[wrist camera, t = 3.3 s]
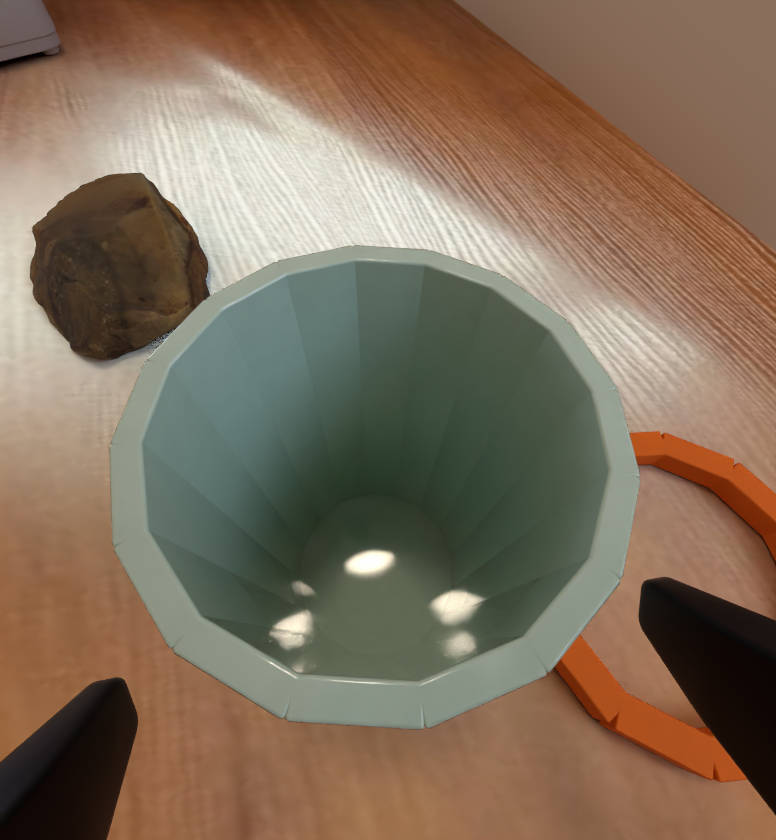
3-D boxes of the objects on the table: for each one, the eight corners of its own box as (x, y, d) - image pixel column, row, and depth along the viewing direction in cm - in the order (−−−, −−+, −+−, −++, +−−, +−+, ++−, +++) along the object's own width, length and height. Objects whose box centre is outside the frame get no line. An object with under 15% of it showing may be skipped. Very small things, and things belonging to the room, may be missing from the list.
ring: (838, 850, 13) (878, 869, 12) (475, 658, 15) (482, 659, 14) (822, 511, 19) (849, 503, 18) (557, 406, 21) (566, 393, 20)
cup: (418, 702, 15) (564, 897, 3) (259, 612, 16) (-25, 531, 5) (480, 531, 18) (669, 329, 6) (343, 467, 19) (296, 203, 8)
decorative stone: (247, 308, 24) (228, 258, 21) (77, 384, 21) (26, 339, 18) (176, 213, 28) (152, 158, 25) (25, 265, 25) (-24, 211, 22)
